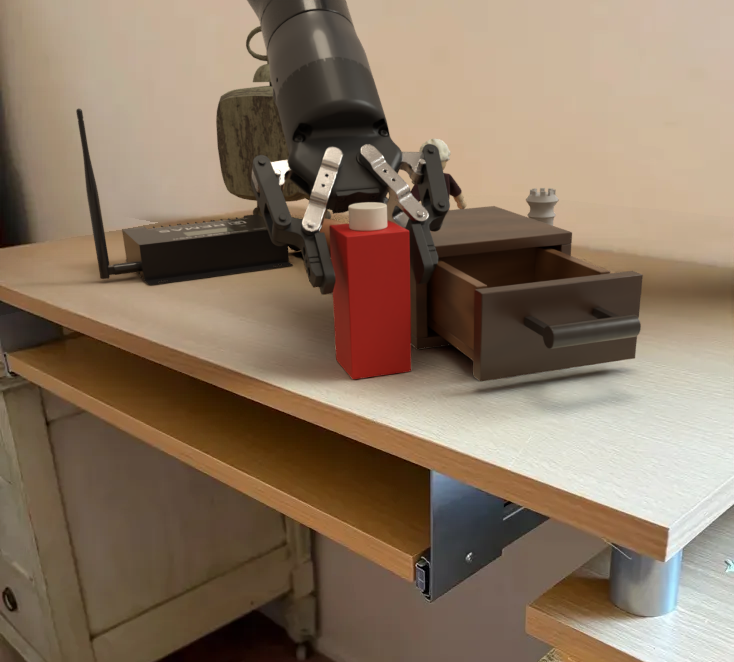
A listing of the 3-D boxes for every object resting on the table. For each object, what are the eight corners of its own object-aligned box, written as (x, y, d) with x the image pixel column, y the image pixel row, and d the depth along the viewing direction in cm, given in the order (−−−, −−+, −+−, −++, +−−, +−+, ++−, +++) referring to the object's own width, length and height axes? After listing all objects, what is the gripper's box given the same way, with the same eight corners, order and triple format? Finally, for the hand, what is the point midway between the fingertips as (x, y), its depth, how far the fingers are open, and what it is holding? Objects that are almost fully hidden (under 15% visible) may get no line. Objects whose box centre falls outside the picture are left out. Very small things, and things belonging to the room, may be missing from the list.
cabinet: (566, 329, 66) (572, 232, 63) (417, 350, 63) (415, 248, 60) (492, 289, 79) (494, 205, 76) (363, 304, 75) (360, 217, 72)
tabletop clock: (343, 220, 115) (334, 22, 105) (313, 233, 107) (300, 20, 98) (254, 216, 120) (237, 28, 111) (219, 228, 113) (198, 27, 103)
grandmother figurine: (445, 251, 95) (444, 134, 90) (470, 255, 92) (472, 136, 87) (396, 263, 90) (394, 141, 85) (422, 268, 87) (421, 143, 82)
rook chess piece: (512, 273, 84) (515, 192, 81) (521, 263, 88) (524, 186, 85) (557, 275, 82) (561, 193, 79) (564, 265, 86) (569, 186, 83)
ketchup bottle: (391, 352, 63) (388, 198, 58) (411, 371, 59) (409, 207, 54) (335, 360, 62) (327, 203, 57) (352, 379, 58) (345, 213, 53)
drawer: (673, 378, 53) (683, 289, 51) (509, 405, 50) (512, 311, 48) (546, 311, 68) (549, 239, 66) (413, 328, 65) (412, 253, 63)
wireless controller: (255, 243, 102) (242, 96, 96) (294, 265, 91) (283, 98, 84) (88, 264, 95) (62, 105, 88) (107, 291, 83) (78, 110, 76)
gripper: (231, 57, 57) (279, 263, 51) (427, 50, 61) (493, 241, 55) (227, 133, 64) (269, 323, 58) (404, 122, 67) (460, 299, 61)
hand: (378, 282), depth 56 cm, fingers open, 6 cm apart
